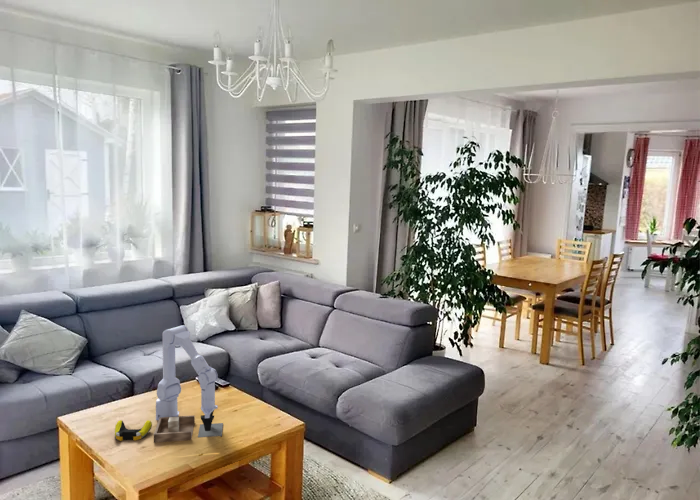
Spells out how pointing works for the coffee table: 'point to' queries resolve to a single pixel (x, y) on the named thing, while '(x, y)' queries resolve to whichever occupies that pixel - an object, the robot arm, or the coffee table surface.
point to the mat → (215, 430)
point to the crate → (184, 432)
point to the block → (173, 424)
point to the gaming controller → (131, 431)
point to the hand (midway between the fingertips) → (208, 426)
